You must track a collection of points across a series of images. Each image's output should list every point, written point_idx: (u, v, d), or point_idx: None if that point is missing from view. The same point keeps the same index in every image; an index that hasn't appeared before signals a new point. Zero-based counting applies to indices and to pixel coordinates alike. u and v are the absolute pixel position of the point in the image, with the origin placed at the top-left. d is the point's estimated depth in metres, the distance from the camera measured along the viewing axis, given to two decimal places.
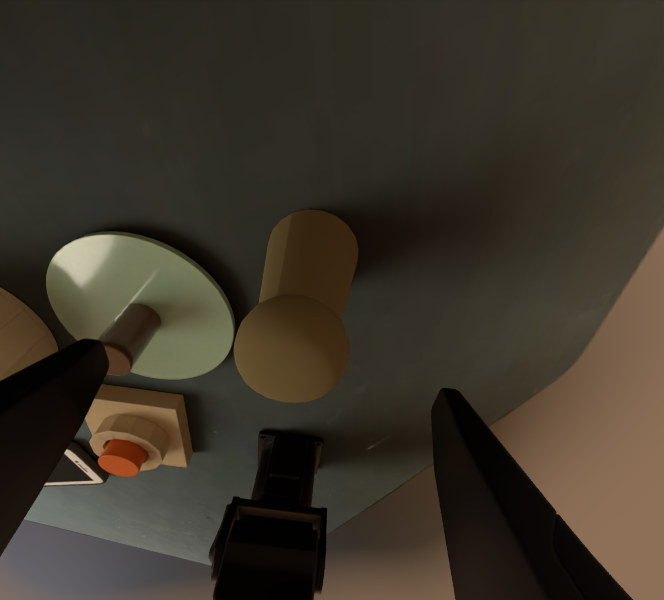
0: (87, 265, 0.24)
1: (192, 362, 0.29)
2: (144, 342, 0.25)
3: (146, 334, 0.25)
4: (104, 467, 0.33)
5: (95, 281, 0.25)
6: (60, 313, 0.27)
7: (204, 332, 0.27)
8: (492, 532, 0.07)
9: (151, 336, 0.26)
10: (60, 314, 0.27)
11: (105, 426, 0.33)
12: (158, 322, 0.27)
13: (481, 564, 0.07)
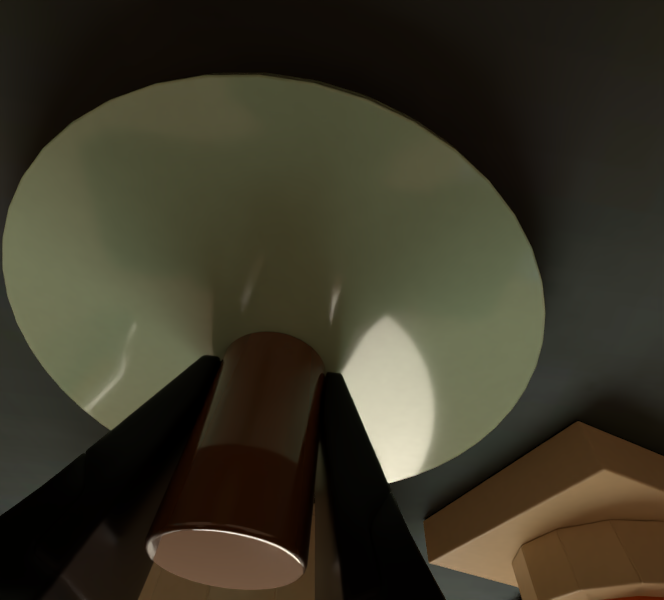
0: (110, 383, 0.11)
1: (479, 344, 0.09)
2: (265, 420, 0.07)
3: (259, 397, 0.07)
4: None
5: (155, 393, 0.11)
6: None
7: (379, 244, 0.07)
8: (328, 511, 0.07)
9: (288, 388, 0.08)
10: None
11: (526, 589, 0.14)
12: (286, 344, 0.09)
13: (323, 544, 0.07)
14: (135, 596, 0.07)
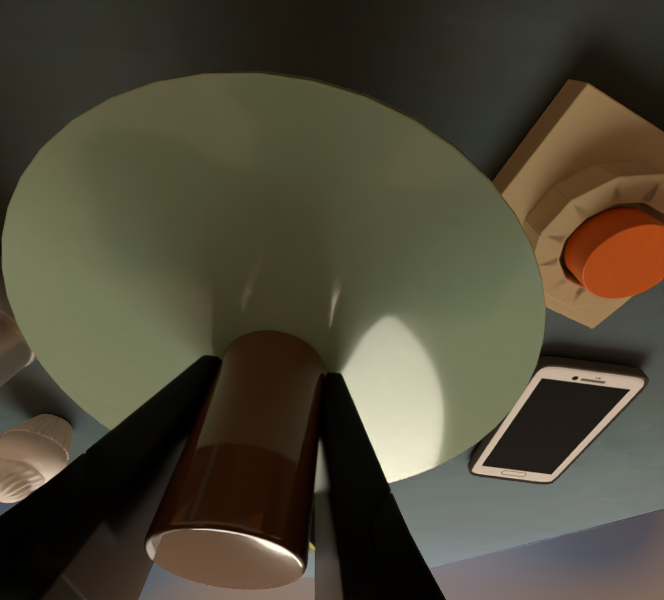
0: (110, 383, 0.11)
1: (479, 343, 0.09)
2: (265, 420, 0.07)
3: (258, 397, 0.07)
4: (611, 292, 0.16)
5: (154, 393, 0.11)
6: None
7: (379, 243, 0.07)
8: (328, 511, 0.07)
9: (288, 387, 0.08)
10: None
11: None
12: (286, 343, 0.09)
13: (323, 544, 0.07)
14: (136, 596, 0.07)
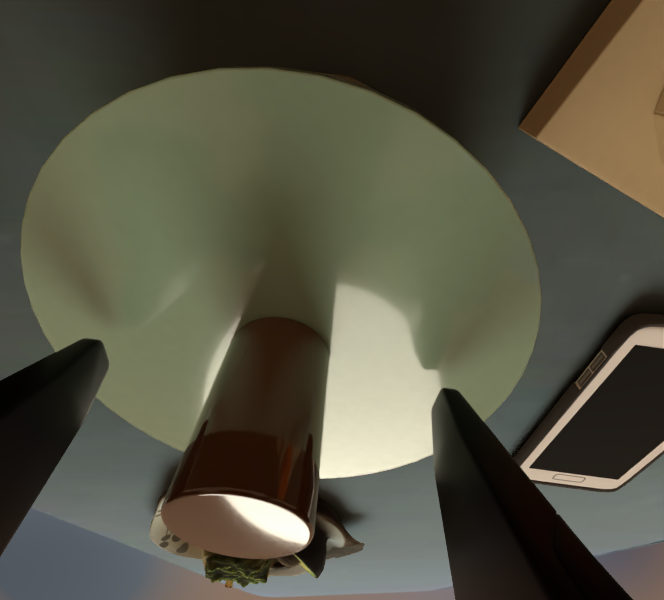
0: (121, 369, 0.11)
1: (477, 329, 0.09)
2: (274, 397, 0.07)
3: (267, 377, 0.08)
4: None
5: (164, 379, 0.11)
6: None
7: (382, 230, 0.08)
8: (492, 532, 0.07)
9: (295, 369, 0.08)
10: None
11: None
12: (292, 329, 0.09)
13: (481, 564, 0.07)
14: None
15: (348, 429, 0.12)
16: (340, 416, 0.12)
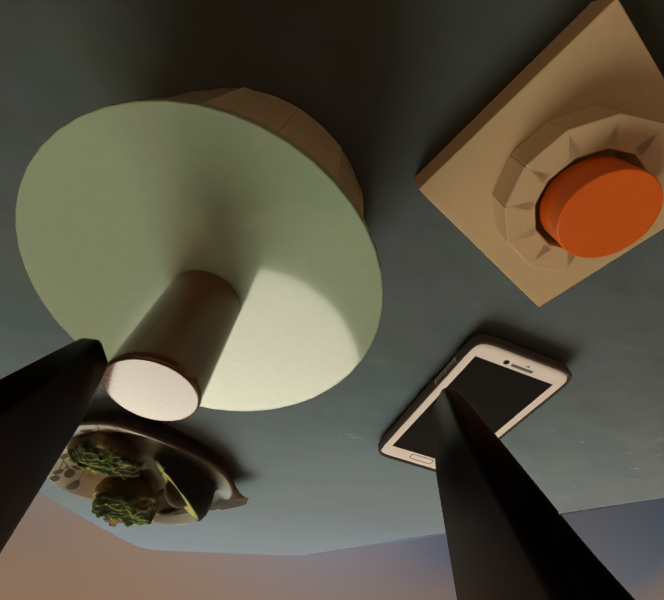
0: (76, 289, 0.14)
1: (342, 307, 0.14)
2: (192, 318, 0.11)
3: (190, 305, 0.11)
4: (580, 247, 0.14)
5: (110, 304, 0.14)
6: None
7: (286, 227, 0.12)
8: (494, 532, 0.07)
9: (211, 306, 0.12)
10: None
11: (509, 182, 0.15)
12: (216, 281, 0.13)
13: (483, 564, 0.07)
14: None
15: (247, 369, 0.16)
16: (242, 357, 0.16)
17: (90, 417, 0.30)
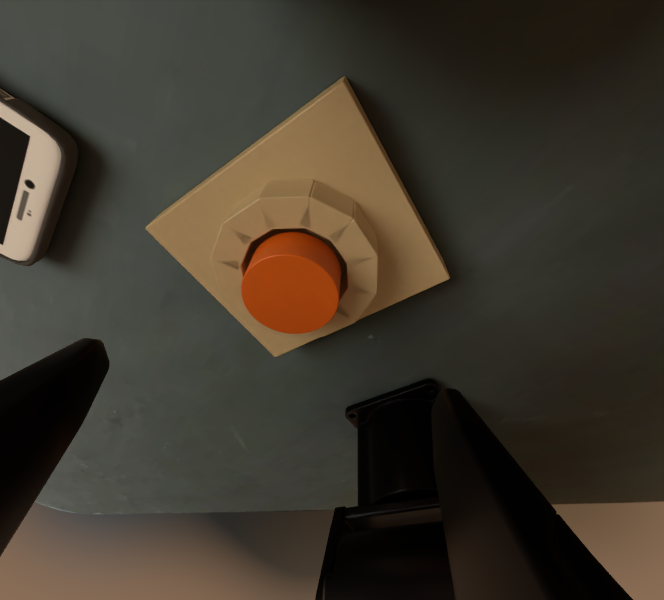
0: None
1: None
2: None
3: None
4: (256, 276, 0.13)
5: None
6: None
7: None
8: (492, 532, 0.07)
9: None
10: None
11: (333, 200, 0.13)
12: None
13: (481, 564, 0.07)
14: None
15: None
16: None
17: None
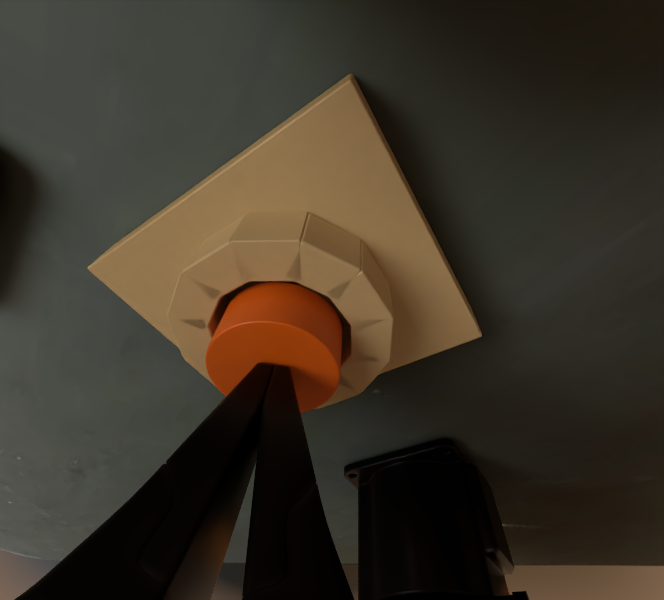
0: None
1: None
2: None
3: None
4: (225, 347, 0.09)
5: None
6: None
7: None
8: None
9: None
10: None
11: (333, 244, 0.09)
12: None
13: None
14: None
15: None
16: None
17: None
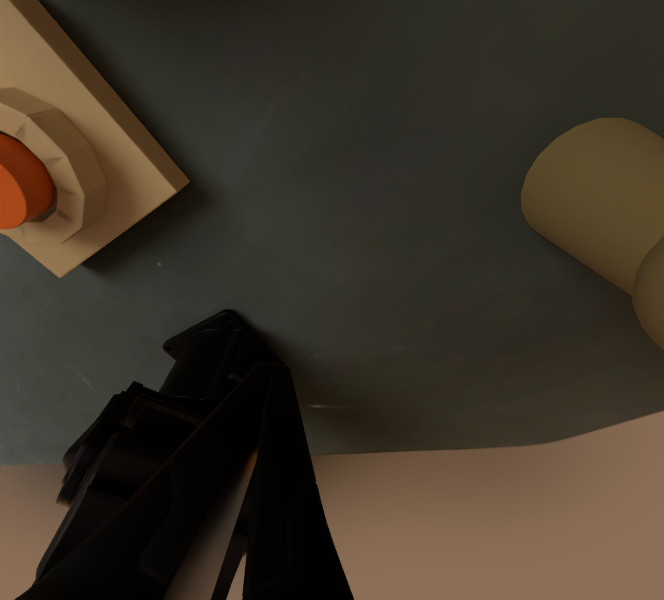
0: None
1: None
2: None
3: None
4: None
5: None
6: None
7: None
8: None
9: None
10: None
11: (16, 101, 0.14)
12: None
13: None
14: None
15: None
16: None
17: None
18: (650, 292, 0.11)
